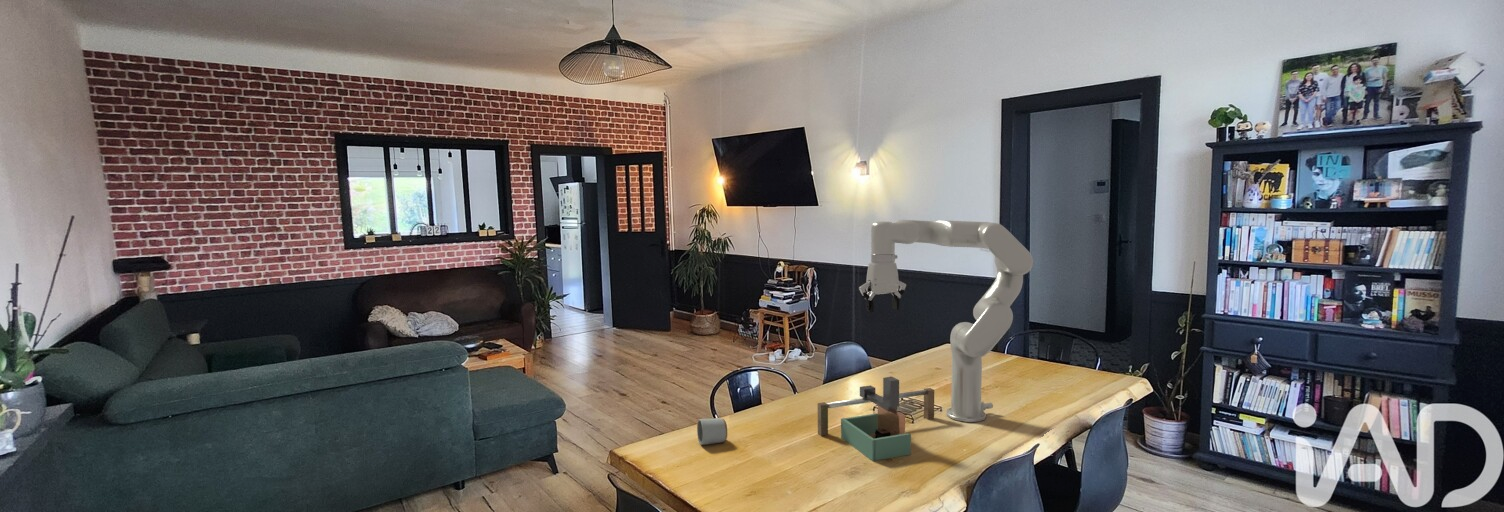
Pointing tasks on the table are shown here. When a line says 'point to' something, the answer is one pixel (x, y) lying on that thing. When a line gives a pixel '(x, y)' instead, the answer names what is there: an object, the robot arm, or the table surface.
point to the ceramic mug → (711, 431)
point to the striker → (887, 405)
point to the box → (874, 449)
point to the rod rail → (824, 406)
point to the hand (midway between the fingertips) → (882, 310)
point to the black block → (881, 433)
